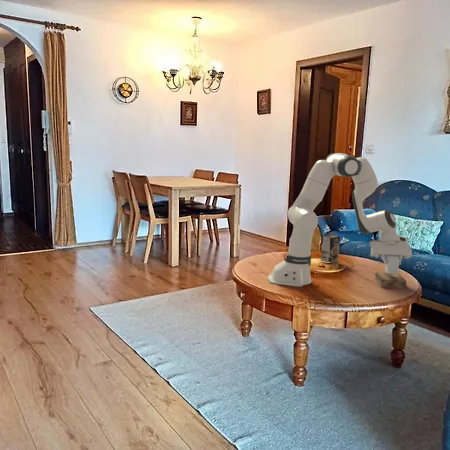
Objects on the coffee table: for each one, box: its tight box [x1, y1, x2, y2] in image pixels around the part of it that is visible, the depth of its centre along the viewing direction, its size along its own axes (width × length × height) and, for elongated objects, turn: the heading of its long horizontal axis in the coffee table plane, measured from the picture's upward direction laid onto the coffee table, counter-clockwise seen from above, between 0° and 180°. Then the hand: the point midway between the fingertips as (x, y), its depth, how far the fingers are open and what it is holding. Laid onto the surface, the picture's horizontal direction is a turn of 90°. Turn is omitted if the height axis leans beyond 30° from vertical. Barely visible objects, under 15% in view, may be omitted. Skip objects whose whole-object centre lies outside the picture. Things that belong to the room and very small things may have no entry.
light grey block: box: [384, 256, 400, 274], centre depth 222 cm, size 5×5×8 cm
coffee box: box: [320, 234, 341, 263], centre depth 258 cm, size 9×6×16 cm
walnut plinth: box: [374, 272, 407, 289], centre depth 224 cm, size 12×12×4 cm
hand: (392, 264), depth 221 cm, fingers closed on light grey block, 5 cm apart
